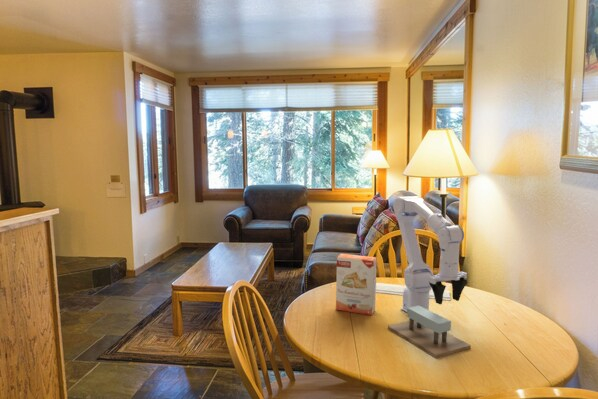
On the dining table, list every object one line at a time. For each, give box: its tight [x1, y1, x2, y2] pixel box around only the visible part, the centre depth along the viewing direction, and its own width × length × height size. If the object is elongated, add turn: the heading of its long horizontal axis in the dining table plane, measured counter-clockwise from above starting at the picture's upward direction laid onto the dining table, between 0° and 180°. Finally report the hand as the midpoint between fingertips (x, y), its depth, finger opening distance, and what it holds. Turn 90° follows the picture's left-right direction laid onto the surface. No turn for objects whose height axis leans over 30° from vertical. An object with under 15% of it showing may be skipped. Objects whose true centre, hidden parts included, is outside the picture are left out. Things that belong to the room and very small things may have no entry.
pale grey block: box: [406, 306, 452, 334], centre depth 128 cm, size 14×5×3 cm, turn 26°
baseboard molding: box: [376, 280, 451, 302], centre depth 170 cm, size 31×3×12 cm
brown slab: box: [387, 317, 472, 359], centre depth 128 cm, size 22×14×5 cm, turn 26°
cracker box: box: [335, 253, 378, 316], centre depth 150 cm, size 14×6×21 cm, turn 68°
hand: (447, 301), depth 134 cm, fingers open, 7 cm apart
